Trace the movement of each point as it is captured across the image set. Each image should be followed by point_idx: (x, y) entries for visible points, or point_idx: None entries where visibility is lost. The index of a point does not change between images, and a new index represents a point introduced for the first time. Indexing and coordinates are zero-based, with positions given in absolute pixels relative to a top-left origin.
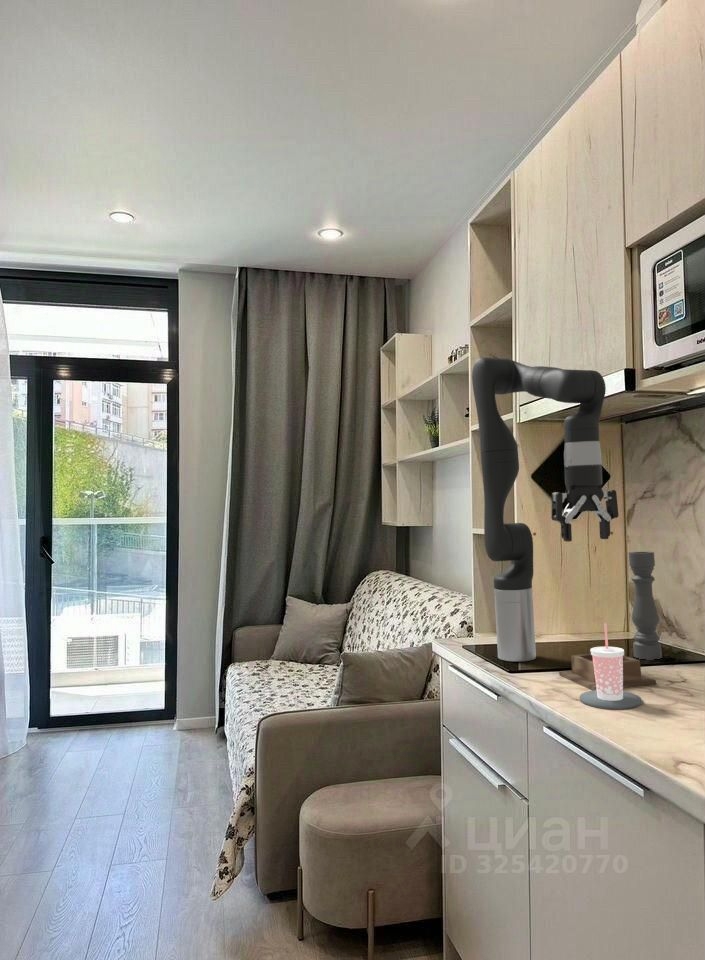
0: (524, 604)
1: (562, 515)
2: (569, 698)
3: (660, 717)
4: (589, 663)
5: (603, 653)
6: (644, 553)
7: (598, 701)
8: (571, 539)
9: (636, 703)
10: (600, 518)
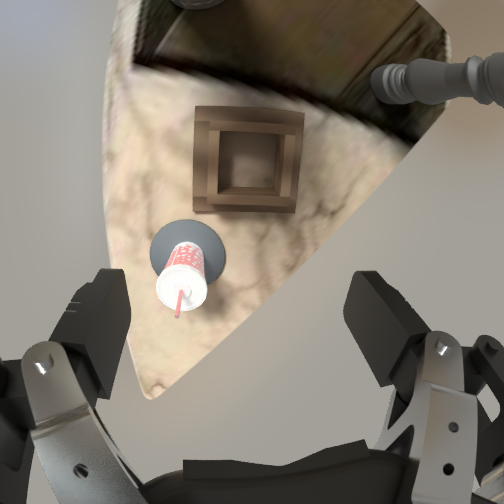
0: None
1: (34, 404)
2: (144, 227)
3: (203, 318)
4: (207, 181)
5: (165, 304)
6: None
7: (164, 266)
8: (128, 323)
9: None
10: (418, 362)
